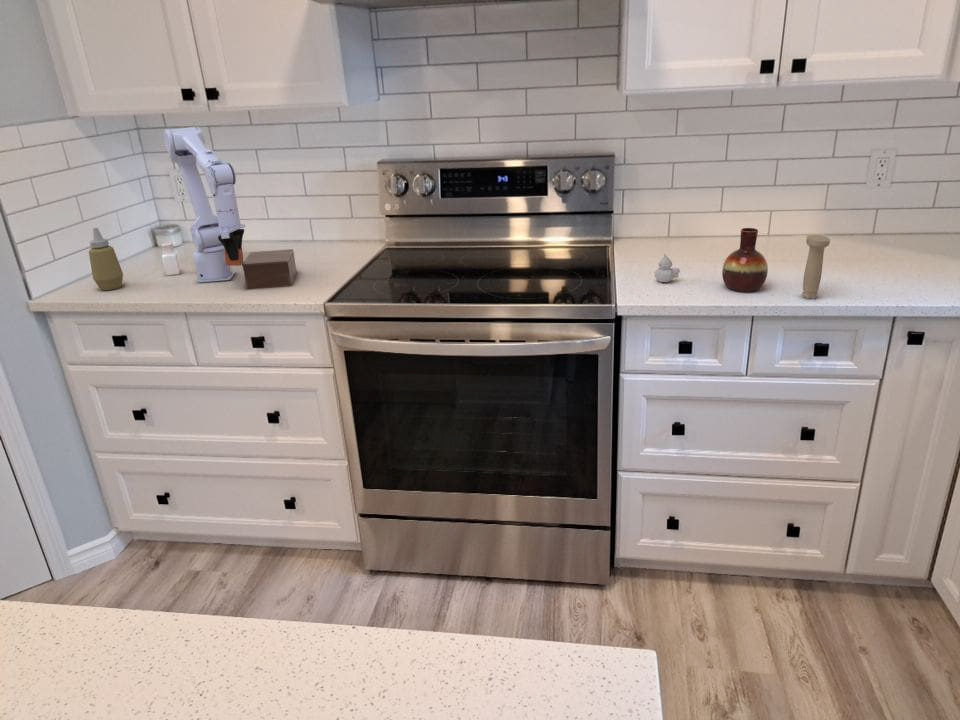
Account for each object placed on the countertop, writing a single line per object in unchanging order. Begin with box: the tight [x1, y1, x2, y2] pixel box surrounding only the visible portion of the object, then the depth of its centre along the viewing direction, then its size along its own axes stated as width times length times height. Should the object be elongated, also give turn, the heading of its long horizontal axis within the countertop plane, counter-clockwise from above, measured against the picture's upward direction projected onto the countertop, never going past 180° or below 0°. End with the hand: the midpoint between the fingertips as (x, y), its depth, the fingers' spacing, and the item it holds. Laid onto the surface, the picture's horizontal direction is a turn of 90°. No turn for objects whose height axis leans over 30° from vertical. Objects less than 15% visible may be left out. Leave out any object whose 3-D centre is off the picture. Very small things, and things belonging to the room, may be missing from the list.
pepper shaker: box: [160, 242, 181, 276], centre depth 216 cm, size 4×4×10 cm
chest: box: [242, 250, 298, 290], centre depth 205 cm, size 14×13×7 cm
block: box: [225, 248, 244, 267], centre depth 195 cm, size 4×4×4 cm
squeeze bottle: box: [88, 227, 124, 291], centre depth 202 cm, size 8×8×18 cm
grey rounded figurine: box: [654, 253, 681, 283], centre depth 188 cm, size 5×7×8 cm
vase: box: [721, 227, 769, 293], centre depth 179 cm, size 11×11×15 cm
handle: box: [802, 234, 831, 300], centre depth 170 cm, size 5×6×15 cm
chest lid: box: [241, 248, 294, 267], centre depth 203 cm, size 14×13×1 cm
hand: (235, 257), depth 195 cm, fingers closed on block, 4 cm apart
